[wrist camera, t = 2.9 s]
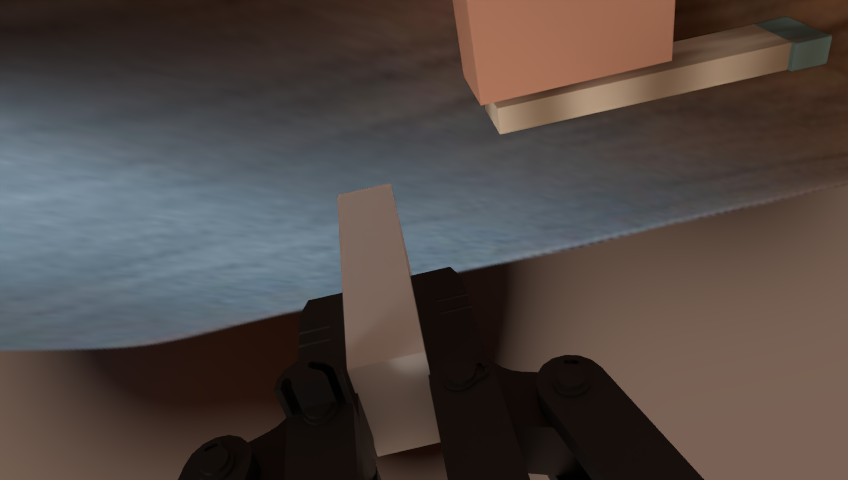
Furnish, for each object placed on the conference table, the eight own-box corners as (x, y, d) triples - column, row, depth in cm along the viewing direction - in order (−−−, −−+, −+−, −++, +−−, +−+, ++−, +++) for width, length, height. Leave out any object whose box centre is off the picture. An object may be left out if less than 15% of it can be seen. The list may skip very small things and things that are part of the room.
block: (463, 74, 35) (480, 105, 31) (443, -59, 31) (461, -42, 27) (634, 35, 35) (671, 60, 31) (637, -103, 31) (680, -92, 27)
